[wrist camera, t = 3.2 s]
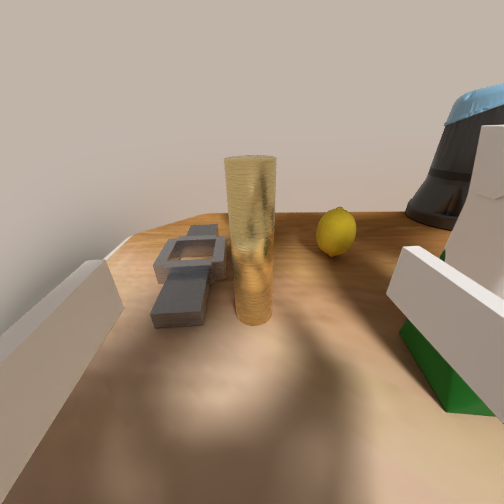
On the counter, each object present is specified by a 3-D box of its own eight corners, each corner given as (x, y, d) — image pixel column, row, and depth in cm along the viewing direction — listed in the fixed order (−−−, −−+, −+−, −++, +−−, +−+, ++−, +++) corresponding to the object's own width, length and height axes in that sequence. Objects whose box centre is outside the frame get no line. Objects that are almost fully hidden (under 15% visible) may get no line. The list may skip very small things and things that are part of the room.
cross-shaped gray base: (228, 233, 43) (227, 218, 42) (222, 323, 23) (219, 302, 22) (182, 235, 43) (179, 220, 42) (135, 329, 23) (126, 308, 22)
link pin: (269, 298, 27) (272, 154, 19) (274, 324, 23) (280, 160, 15) (236, 300, 26) (225, 156, 19) (236, 326, 23) (222, 162, 15)
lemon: (305, 253, 36) (311, 205, 32) (329, 244, 38) (337, 199, 34) (333, 269, 32) (343, 216, 28) (357, 258, 34) (370, 208, 30)
